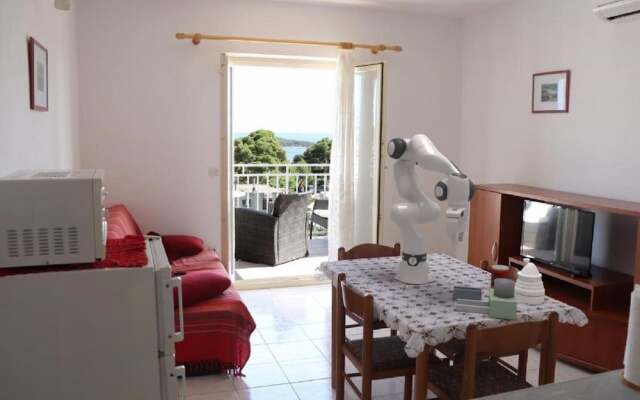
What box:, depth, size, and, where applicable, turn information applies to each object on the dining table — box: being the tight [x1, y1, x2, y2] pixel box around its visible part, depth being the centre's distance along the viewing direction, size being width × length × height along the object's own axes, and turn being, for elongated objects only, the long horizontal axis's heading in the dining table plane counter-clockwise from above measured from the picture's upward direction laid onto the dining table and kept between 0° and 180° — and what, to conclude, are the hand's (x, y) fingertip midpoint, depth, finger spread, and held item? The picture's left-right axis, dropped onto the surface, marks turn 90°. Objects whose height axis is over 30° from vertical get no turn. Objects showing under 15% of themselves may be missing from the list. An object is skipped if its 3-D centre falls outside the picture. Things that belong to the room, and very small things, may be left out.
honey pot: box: [514, 258, 546, 305], centre depth 243 cm, size 13×13×18 cm
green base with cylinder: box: [455, 278, 518, 320], centre depth 229 cm, size 17×23×13 cm
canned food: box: [490, 264, 510, 289], centre depth 258 cm, size 8×8×11 cm
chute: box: [452, 285, 483, 301], centre depth 244 cm, size 5×12×5 cm, turn 74°
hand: (457, 242), depth 240 cm, fingers open, 8 cm apart
